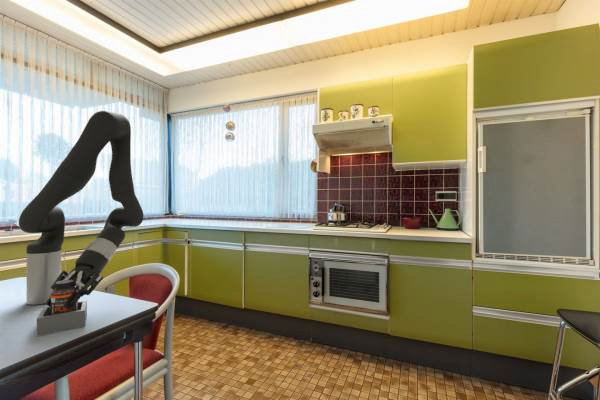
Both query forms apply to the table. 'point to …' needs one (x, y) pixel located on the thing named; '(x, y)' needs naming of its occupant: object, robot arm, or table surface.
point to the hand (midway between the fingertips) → (58, 306)
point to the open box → (61, 320)
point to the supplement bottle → (62, 297)
